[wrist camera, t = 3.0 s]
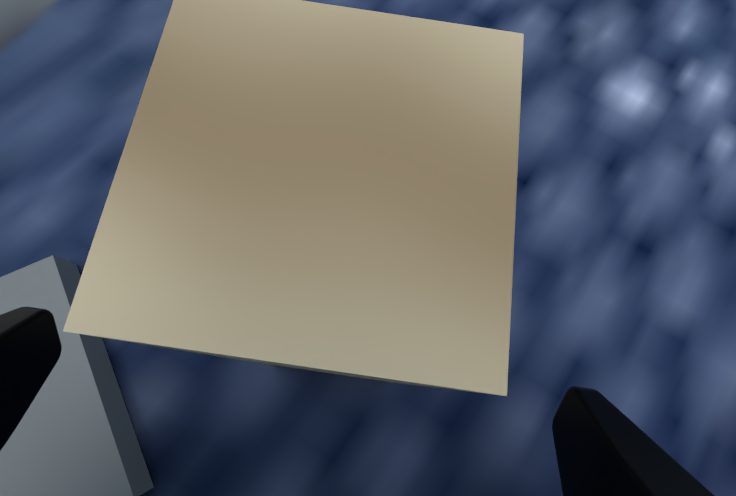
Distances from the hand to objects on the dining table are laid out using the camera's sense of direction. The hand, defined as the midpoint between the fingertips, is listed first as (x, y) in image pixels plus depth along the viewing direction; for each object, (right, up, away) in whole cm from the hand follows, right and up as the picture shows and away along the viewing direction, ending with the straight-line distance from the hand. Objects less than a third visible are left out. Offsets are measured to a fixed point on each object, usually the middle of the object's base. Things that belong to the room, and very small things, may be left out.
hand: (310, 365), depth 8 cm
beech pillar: (0, -1, +10) cm, 10 cm away
